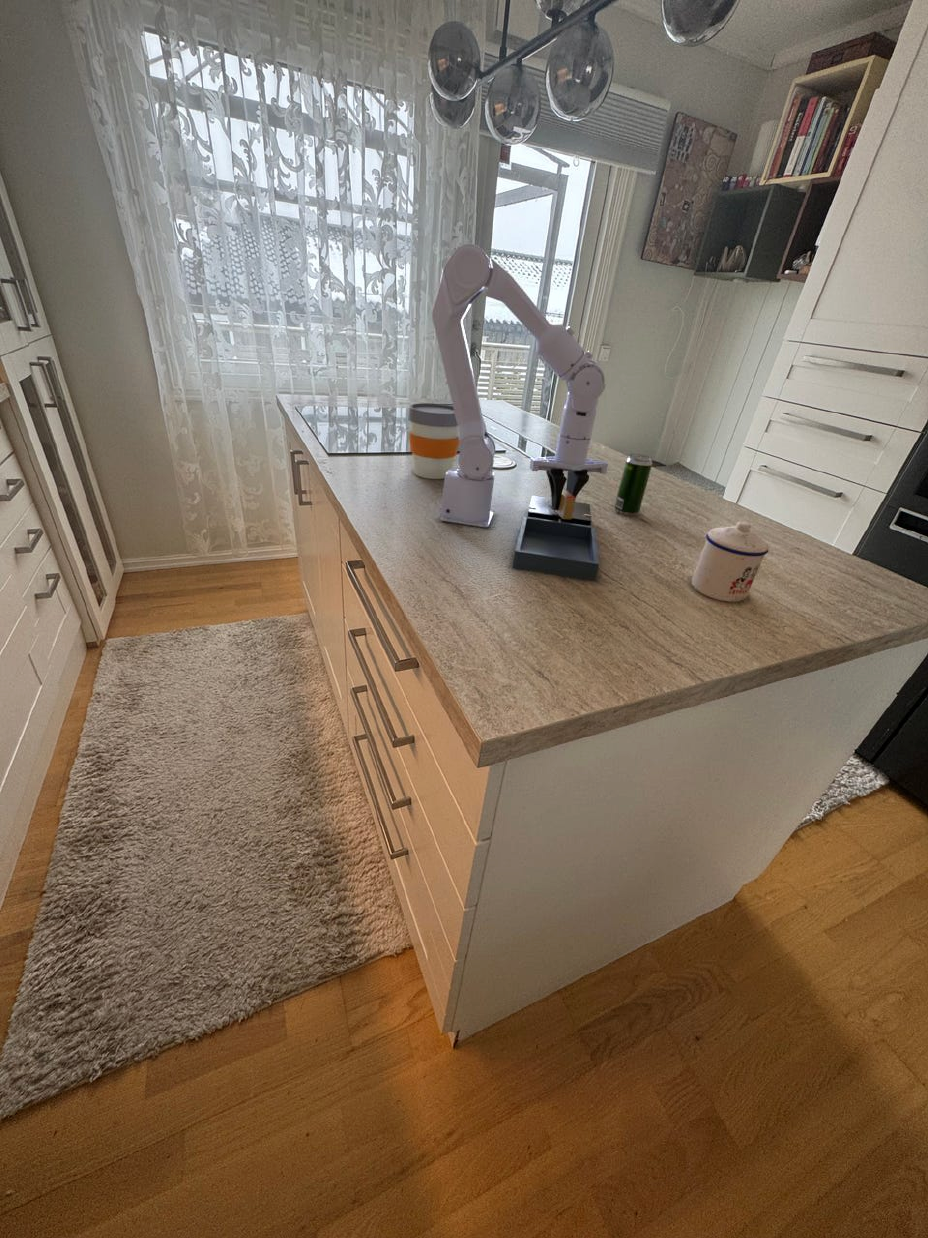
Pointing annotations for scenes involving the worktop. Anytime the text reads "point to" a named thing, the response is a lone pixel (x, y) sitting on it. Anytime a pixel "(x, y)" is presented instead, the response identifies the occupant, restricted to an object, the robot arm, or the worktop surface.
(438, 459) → the reusable coffee cup
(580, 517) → the black cupboard
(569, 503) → the yellow-brown long block
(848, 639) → the worktop surface
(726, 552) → the teacup with lid
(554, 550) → the tray
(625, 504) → the beer can
